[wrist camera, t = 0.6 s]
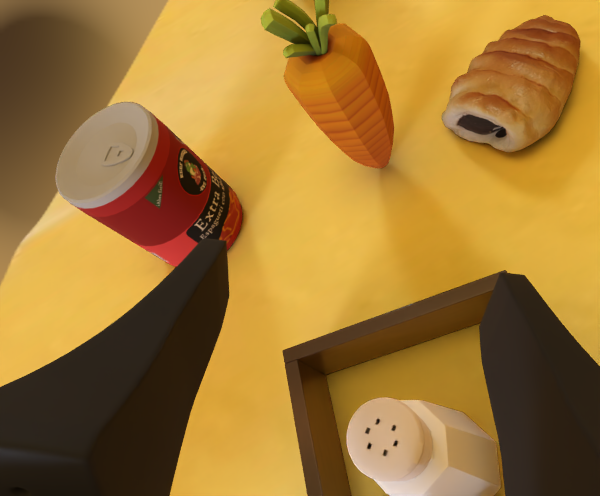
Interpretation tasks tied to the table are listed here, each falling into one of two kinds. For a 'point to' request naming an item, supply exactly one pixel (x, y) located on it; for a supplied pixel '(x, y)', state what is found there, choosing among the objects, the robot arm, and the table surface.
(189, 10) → the table surface
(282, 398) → the table surface
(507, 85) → the pastry
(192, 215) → the canned food
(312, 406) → the rectangular frame
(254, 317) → the table surface
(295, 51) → the carrot
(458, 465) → the salt shaker
